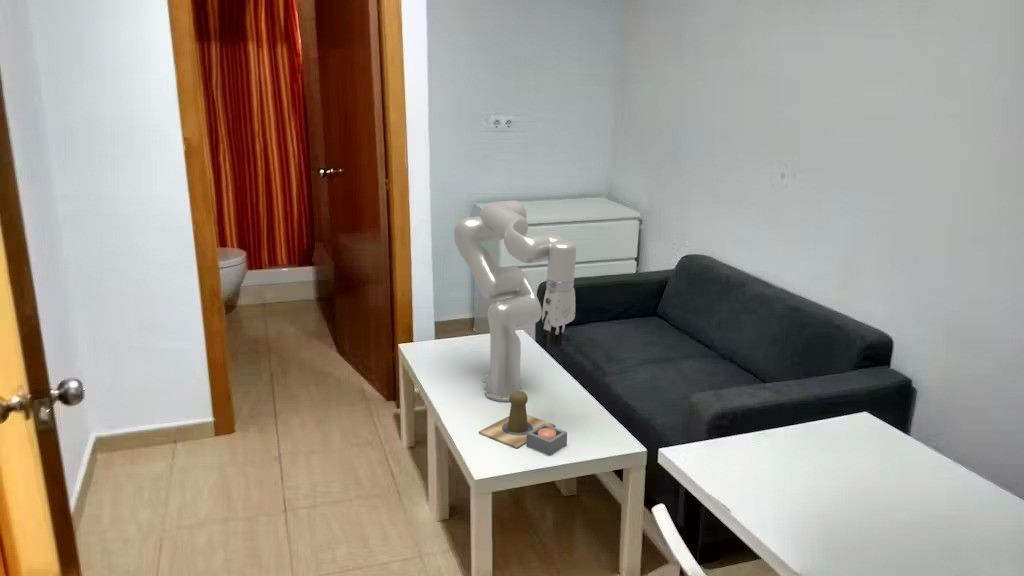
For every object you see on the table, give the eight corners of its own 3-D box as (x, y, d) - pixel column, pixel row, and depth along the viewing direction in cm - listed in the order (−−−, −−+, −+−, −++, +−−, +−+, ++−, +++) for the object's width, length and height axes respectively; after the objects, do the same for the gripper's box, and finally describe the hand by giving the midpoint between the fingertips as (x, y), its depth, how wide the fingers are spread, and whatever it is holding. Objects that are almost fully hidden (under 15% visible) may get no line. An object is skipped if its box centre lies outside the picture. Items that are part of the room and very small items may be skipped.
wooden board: (478, 433, 224) (478, 431, 224) (518, 413, 237) (518, 410, 237) (516, 449, 216) (516, 446, 215) (555, 427, 229) (555, 424, 229)
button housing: (526, 446, 217) (526, 433, 216) (543, 436, 223) (544, 423, 222) (549, 455, 212) (550, 442, 211) (566, 445, 218) (567, 432, 217)
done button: (534, 442, 217) (534, 432, 216) (544, 436, 221) (545, 426, 220) (548, 447, 214) (548, 438, 213) (559, 441, 218) (559, 431, 217)
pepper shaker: (525, 433, 223) (527, 398, 220) (505, 431, 224) (506, 396, 221) (530, 424, 228) (531, 389, 225) (509, 422, 230) (510, 387, 227)
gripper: (553, 293, 211) (549, 356, 217) (586, 282, 222) (581, 342, 228) (532, 286, 216) (528, 348, 222) (565, 276, 227) (561, 335, 232)
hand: (555, 345), depth 225 cm, fingers closed
